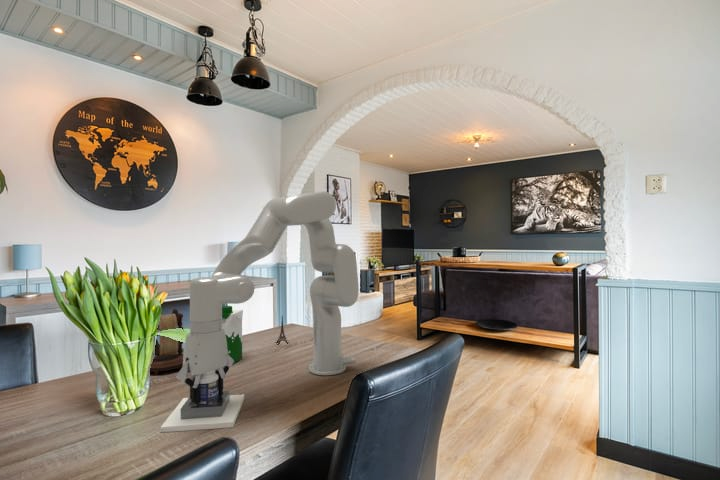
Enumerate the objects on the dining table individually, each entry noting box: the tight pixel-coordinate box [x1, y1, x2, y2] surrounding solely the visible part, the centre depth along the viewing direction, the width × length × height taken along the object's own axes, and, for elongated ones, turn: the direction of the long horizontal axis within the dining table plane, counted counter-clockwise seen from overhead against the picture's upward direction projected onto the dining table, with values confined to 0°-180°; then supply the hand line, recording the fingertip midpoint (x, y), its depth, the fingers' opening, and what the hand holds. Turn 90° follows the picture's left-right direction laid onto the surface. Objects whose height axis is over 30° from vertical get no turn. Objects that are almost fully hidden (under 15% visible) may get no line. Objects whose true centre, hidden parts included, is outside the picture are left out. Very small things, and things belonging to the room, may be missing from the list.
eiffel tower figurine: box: [275, 315, 289, 345], centre depth 159 cm, size 15×10×13 cm
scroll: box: [149, 308, 184, 376], centre depth 129 cm, size 15×15×20 cm
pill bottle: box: [196, 370, 219, 406], centre depth 95 cm, size 5×5×10 cm
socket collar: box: [181, 390, 231, 419], centre depth 95 cm, size 9×9×2 cm
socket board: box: [160, 393, 245, 433], centre depth 95 cm, size 16×16×1 cm
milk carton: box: [222, 305, 244, 365], centre depth 137 cm, size 9×9×20 cm
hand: (207, 397), depth 95 cm, fingers closed on pill bottle, 5 cm apart
